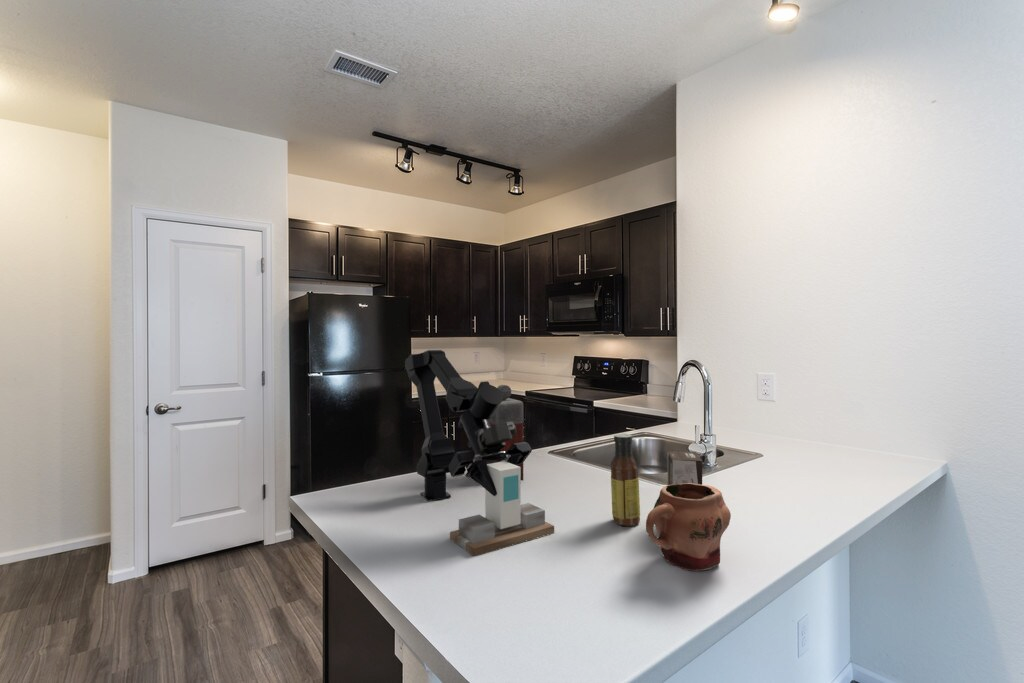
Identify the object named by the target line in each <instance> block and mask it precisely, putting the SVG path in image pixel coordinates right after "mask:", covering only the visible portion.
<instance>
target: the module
mask: <svg viewBox="0 0 1024 683" xmlns="http://www.w3.org/2000/svg"><path fill="white" fill-rule="evenodd" d="M487 469H488V472H489V474H490V476H491V479H492V481H493V483H494V485H495V488H496V491H497V495H496V496H493V495H492V494H491V493H489V492H488V491H487V490H486V489H485V488H484V489H485V490H484V491H485V494H484V496H485V497H484V499H485V500H484V501H485V502H484V504H485V505H484V506H485V510H484V512H485V513H484V514H485V516H484V517H485V518H486V519H488V520H490V521H492V522H493V523H495V526H496V527H498V528H500V529H503V528H507V527H511V526H515V525H518V524H521V500H522V498H521V497H522V495H521V494H522V493H521V487H522V486H521V484H522V482H521V481H522V480H521V467H519V466H516V465H514V464H511V463H508V462H506V461H503V462H497V463H491V464H487Z"/></svg>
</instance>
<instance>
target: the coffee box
mask: <svg viewBox="0 0 1024 683" xmlns="http://www.w3.org/2000/svg"><path fill="white" fill-rule="evenodd" d="M666 460H667V462H666V463H667V464H666V465H667V469H666V470H667V485H673V484H684V483H693V484H700V485H703V459H702V458H701V457H700V456H699V455H698V453H696V451H681V450H680V451H679V450H678V451H677V450H676V451H674V450H672V451H669V450H668V451H667V459H666Z"/></svg>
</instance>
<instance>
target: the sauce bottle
mask: <svg viewBox="0 0 1024 683" xmlns="http://www.w3.org/2000/svg"><path fill="white" fill-rule="evenodd" d="M613 437H614V438H613V441H614V445H615V447H614V448H615V449H614V450H615V451H614V454H615V455H614V457H613V458H612V460H611V462H610V488H611V514H612V520H613V522H614V523H615V524H617V525H619V526H624V527H633V526H636V525H639V523H640V522H641V521H640V520H641V519H640V518H641V517H640V516H641V503H640V499H641V498H640V478H639V472H638V471H639V470H638V468H639V465H638V463H637V461H636V460H635V457H634V456H633V449H632V448H633V447H632V446H633V445H632V443H633V435H632V434H627V433H617V434H615V435H613Z"/></svg>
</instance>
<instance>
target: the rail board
mask: <svg viewBox="0 0 1024 683" xmlns="http://www.w3.org/2000/svg"><path fill="white" fill-rule="evenodd" d="M550 533H552V534H554V533H555V525H554V524H551V523H550V522H547V521H546V510H545V509H543V508H540V507H539V506H537V505H534V504H532V503H529V502H526V503H522V504H521V524H518V525H515V526H511V527H507V528H503V529H500V528H498V527H496V526H495V523H493V522H492V521H490V520H488V519H486V518H485V516H483V515H481V514H475V515H471V516H467V517H464V518H459V519H458V529H457V530H451V531H450V532H449V539H450V540H451V541H452V540H453V541H454V543H455V544H456V543H457V546H459V545H460V546H461V547H460V546H459V547H460V548H462V547H463V548H464V549H463V548H462V549H463V550H465V551H466V552H467V551H468V553H469V554H470V555H472V556H473V557H477V556H479V555H483V553H484V554H487V553H490V552H494V551H497V550H500V549H499V548H501V549H504V548H507V547H506V546H508V547H510V546H509V545H511V546H513V545H512V544H515V545H517V544H516V543H518V544H521V543H524V541H525V542H527V541H526V540H528V541H532V540H534V538H535V539H538V538H537V537H539V538H541V537H540V536H542V537H544V536H543V535H545V536H547V534H549V535H551V534H550ZM531 539H532V540H531ZM453 541H452V542H453ZM520 542H521V543H520ZM503 547H504V548H503ZM496 549H497V550H496ZM493 550H494V551H493ZM486 552H487V553H486Z"/></svg>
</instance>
